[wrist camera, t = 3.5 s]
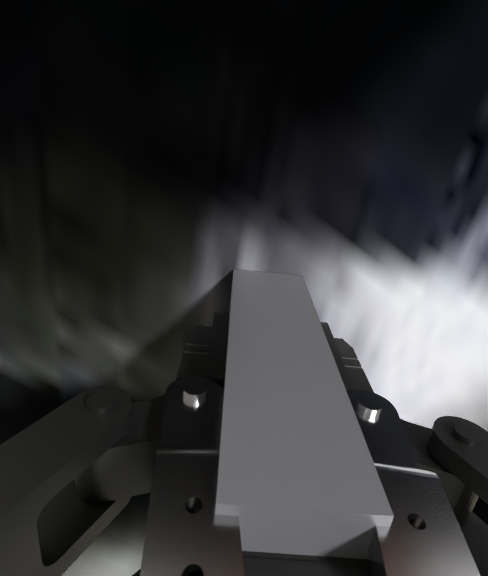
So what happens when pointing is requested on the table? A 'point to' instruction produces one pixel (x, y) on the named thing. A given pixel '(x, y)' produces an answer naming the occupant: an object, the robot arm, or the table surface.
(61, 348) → the table surface
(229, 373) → the block
